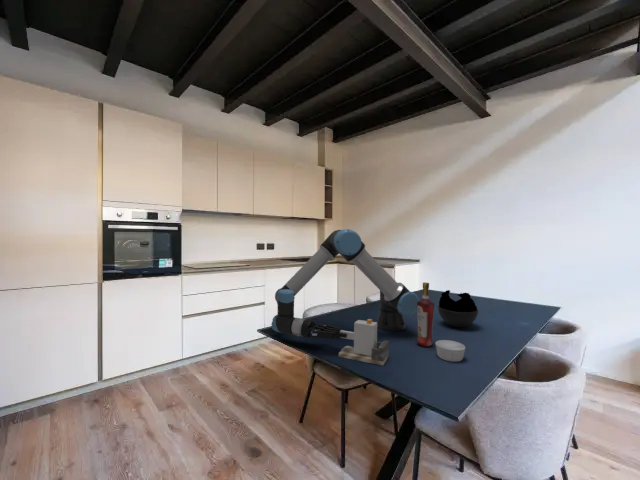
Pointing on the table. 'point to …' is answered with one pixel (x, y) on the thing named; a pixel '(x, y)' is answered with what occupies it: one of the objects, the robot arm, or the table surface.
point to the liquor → (425, 318)
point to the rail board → (377, 356)
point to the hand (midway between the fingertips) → (355, 336)
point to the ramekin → (450, 350)
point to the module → (365, 337)
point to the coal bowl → (457, 310)
